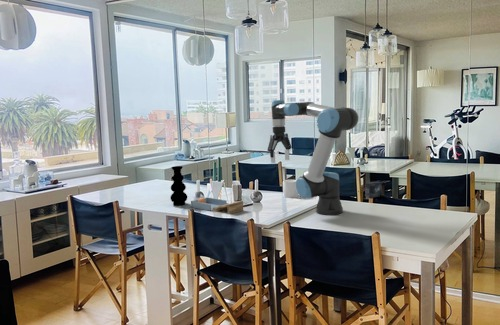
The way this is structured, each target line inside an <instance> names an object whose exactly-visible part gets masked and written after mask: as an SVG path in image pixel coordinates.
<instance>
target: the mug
mask: <svg viewBox="0 0 500 325" xmlns="http://www.w3.org/2000/svg"><path fill="white" fill-rule="evenodd" d="M296 181H297V179H284V180H282V194H283V198H285V199H286V198H287V199H294V198H298V197H299V194H298V192H297V189H296Z"/></svg>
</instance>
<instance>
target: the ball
mask: <svg viewBox="0 0 500 325" xmlns="http://www.w3.org/2000/svg"><path fill="white" fill-rule="evenodd" d="M204 198H205V197H200V198H198V199H199V200H198V199H197V200H198V202H201V203H206V200H205V199H204Z"/></svg>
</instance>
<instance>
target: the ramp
mask: <svg viewBox="0 0 500 325" xmlns="http://www.w3.org/2000/svg"><path fill="white" fill-rule="evenodd" d="M213 209H214V210H213V211H214V212H218V211H219V212H221V211H223V210H226V209H227V214H229V215H231V214H236V213H238V212H242V211H244V201H243V200H240V201H235V202H231V203H227V204H225V205H221V206H217V207H213Z"/></svg>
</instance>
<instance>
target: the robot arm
mask: <svg viewBox="0 0 500 325" xmlns="http://www.w3.org/2000/svg"><path fill="white" fill-rule="evenodd" d="M270 108H271V118H272V119H271V120H272V122H271V123H272V133H273V134H270V138H269V143H268V146H267V152H268V153H269V154H270V155H269V156H270V163H271V164H276V152H275V150H276V148H277V145H278V144H279V143H281V144H282V145H283V147H284V160H285V161H290V150H292V145H291V144H292V143H291V141H290V138H289V134H288V133H286V117H295V116H308V117H312V118H317V119H316V123H317V124H316V126H317V128H318V133H319V136H318V140H317V142H316V144H315V148H314V150H313V153H312V157H311V160H310V161H309V162H310V163H309V165H308V168H307V169H306V170H305V171H303V175H302V177H299V178H297V179H296V180H297V181H296V189H297V192H298V196H300V197H301V198H303V199H311V198H315V197H318V200H317V204H316V208H315V212H316V213H317V214H319V215H326V216H331V215H332V216H333V215H340V214H342V213H344V210H343V206H342V202H341V198H340V175H339V173H337V172H330V171H325V170H326V167H327V165H328V162H329V159H330V156H331V154H332V151H333V148H334V146H335V143H336V140H338V139H340V138H341V135H342V133H343V131H350V130H353V129H354V128H355V127H356V126H357V125H358V123H359V114H358V112H357V111H356V110H355V109H354V108H352V107H343V106H342V107H340V108H338V107H334V106H328V105H323V104H318V103H315V102H313V101H303V102H301V101H300V102H285V100H284V99H278V100H272V101H271V107H270Z"/></svg>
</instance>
